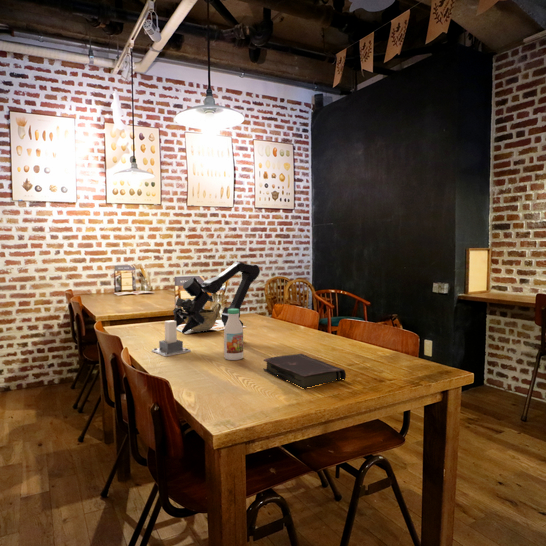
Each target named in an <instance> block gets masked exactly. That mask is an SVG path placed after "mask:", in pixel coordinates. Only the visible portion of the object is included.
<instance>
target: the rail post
mask: <svg viewBox="0 0 546 546" xmlns="http://www.w3.org/2000/svg"><path fill="white" fill-rule="evenodd" d="M177 328H178V327H177V326H176V321H174V319H173V320H171V319H170V320H165V321H164V340H165V342H166V343H173V342H177V340H178V339H177V338H178V337H177V336H178V335H177V334H178V331H177V330H178V329H177Z"/></svg>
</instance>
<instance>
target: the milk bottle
mask: <svg viewBox="0 0 546 546" xmlns="http://www.w3.org/2000/svg"><path fill="white" fill-rule="evenodd" d="M239 319H240V318H239V309H228V320H227V323H226V325H225V326H224V331H223V352H224V353H223V355H224V359H225V360H229V361H238V360H241V359H244V328H243V327H244V326H243V327H242V324H241V322H240V320H241V319H240V320H239Z"/></svg>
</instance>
